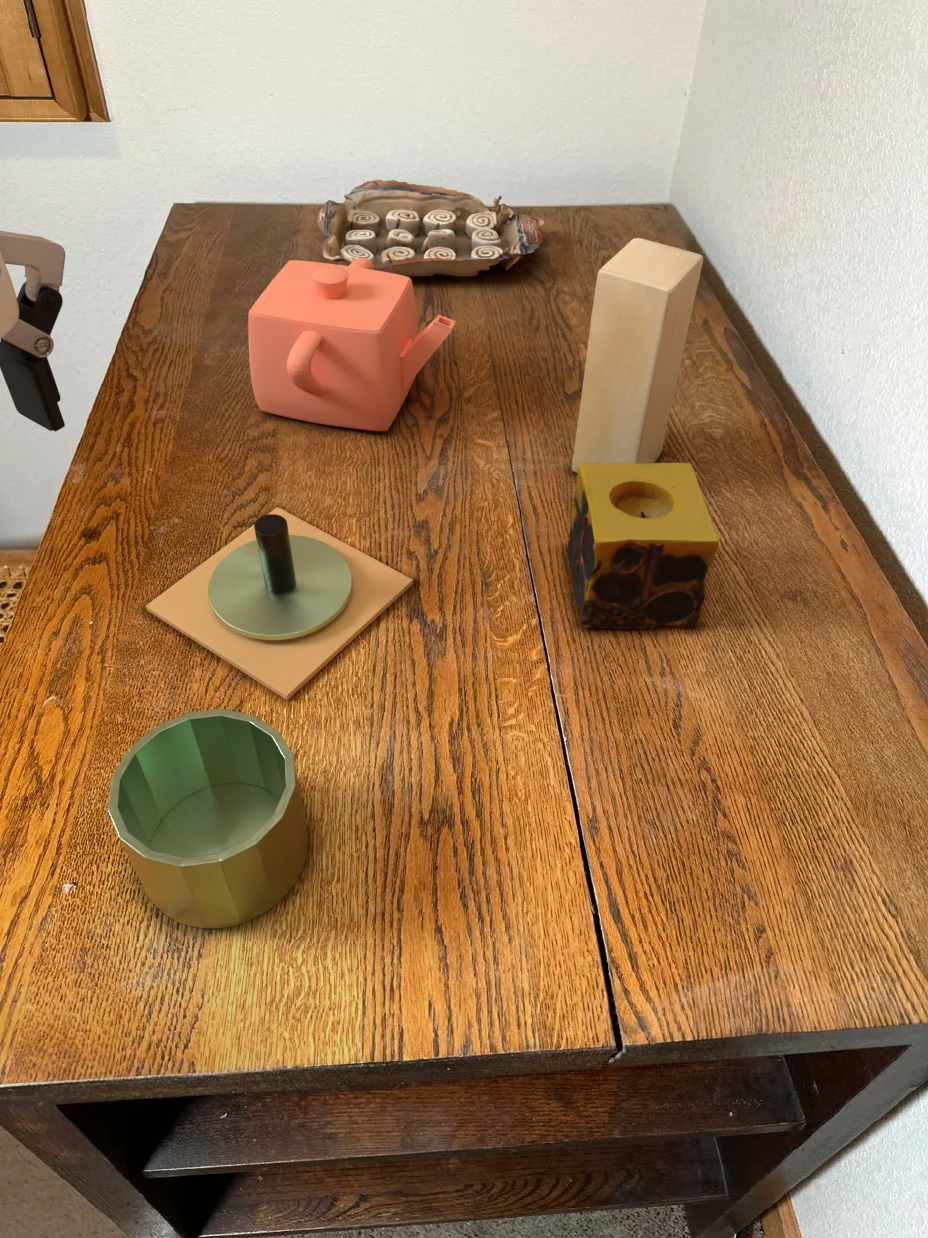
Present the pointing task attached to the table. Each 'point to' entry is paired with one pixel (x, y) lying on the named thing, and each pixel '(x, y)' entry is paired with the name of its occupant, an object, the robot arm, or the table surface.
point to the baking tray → (424, 230)
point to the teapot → (338, 344)
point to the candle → (640, 545)
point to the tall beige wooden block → (635, 352)
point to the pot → (211, 817)
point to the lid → (279, 584)
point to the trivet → (289, 659)
